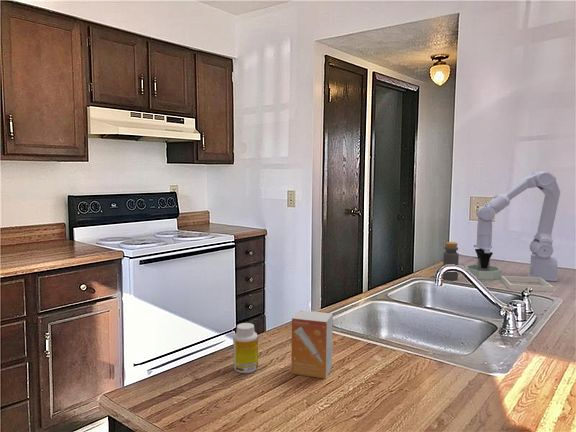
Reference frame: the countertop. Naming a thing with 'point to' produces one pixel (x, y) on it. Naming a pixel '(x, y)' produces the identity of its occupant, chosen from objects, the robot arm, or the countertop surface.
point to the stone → (478, 266)
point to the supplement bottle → (245, 348)
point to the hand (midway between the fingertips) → (482, 267)
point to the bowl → (485, 272)
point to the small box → (312, 343)
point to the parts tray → (545, 287)
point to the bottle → (451, 260)
